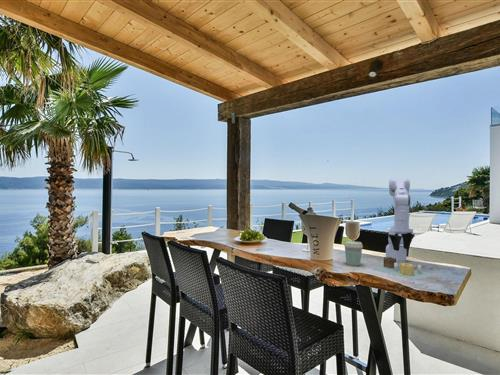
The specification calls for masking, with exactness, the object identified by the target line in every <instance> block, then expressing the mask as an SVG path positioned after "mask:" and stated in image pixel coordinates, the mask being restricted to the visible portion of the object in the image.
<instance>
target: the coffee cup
mask: <svg viewBox="0 0 500 375" xmlns="http://www.w3.org/2000/svg"><path fill="white" fill-rule="evenodd" d="M343 246H344V251H345V263H346V265H348V266H351V267H359V266H360V265H361V260H362V253H363V248H364V245H363V243H362V242H361V241H357V240H355V241H354V240H348V241H345V243H344V245H343Z"/></svg>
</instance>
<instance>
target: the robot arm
mask: <svg viewBox="0 0 500 375" xmlns="http://www.w3.org/2000/svg"><path fill="white" fill-rule="evenodd" d="M410 188H411V180H410V179H409V178H390V179H389V180H388V192H389V196H391V197H393V202H394V206H393V207H394V209H393V210H394V217H393V218H394V225H393V226H392V227H390V228H389V229H388V239H387V240H388V244H387V245H386V246H385V257H391V258H396V262H407V253H408V252H407V250H409V249H410V248H411V247H410V246H411V244H412V240H413V239H414V238H415V233H414V229H412V228H410V226H409V225H410V208H411V195H410Z"/></svg>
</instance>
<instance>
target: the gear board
mask: <svg viewBox="0 0 500 375" xmlns="http://www.w3.org/2000/svg"><path fill="white" fill-rule="evenodd" d="M398 264H399V263H398V262H396V263H394V268H387V267H383V264H380V265H379V264H378V265H374V266H373V265H372V266H368V268H370V269H373V270H376V271H379V272H382V273H386V274H391V275H394V276H398V277H400V278H404V279H409V280H411V281H415V280H416V281H417V280H420V279H421V280H422V279H425V278H430V277H436V276H437V274H432V273H429V272H426V271H422V265H420V264H417V269H414V275H411V276H409V275H402V274H401V273H400V265H398Z"/></svg>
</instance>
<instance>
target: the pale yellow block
mask: <svg viewBox="0 0 500 375" xmlns="http://www.w3.org/2000/svg"><path fill="white" fill-rule="evenodd" d="M399 266H400V273H401V274H402V275H409V276H411V275H414V270H415V265H413V264H412V263H405V262H402V263H399Z"/></svg>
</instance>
